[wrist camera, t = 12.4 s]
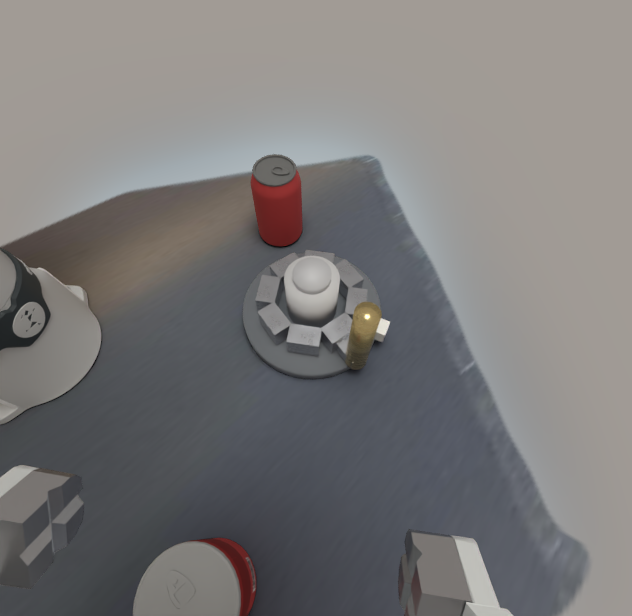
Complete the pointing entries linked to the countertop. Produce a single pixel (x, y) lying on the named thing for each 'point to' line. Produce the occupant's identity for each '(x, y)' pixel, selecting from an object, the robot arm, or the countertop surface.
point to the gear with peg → (338, 335)
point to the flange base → (281, 351)
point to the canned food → (198, 581)
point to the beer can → (277, 199)
